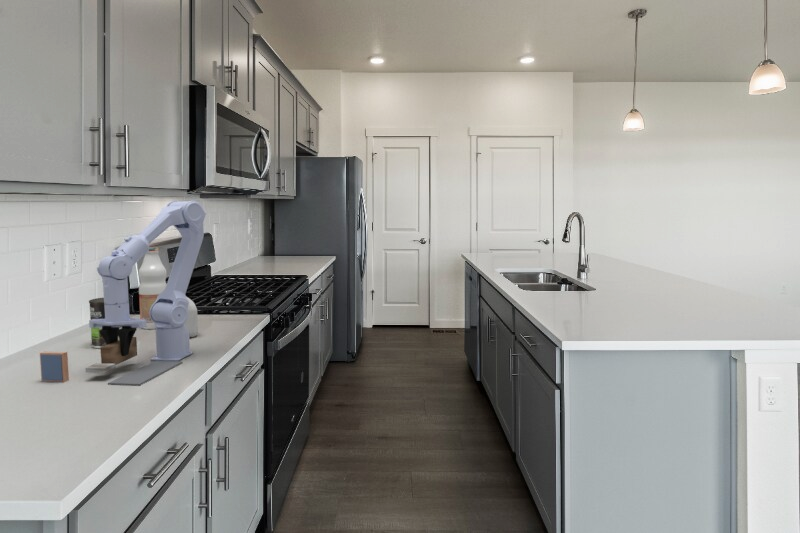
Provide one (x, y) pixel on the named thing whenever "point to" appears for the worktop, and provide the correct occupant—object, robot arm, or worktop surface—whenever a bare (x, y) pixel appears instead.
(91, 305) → the coffee can
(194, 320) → the soap bottle
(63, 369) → the tile
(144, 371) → the mat
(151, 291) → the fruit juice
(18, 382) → the worktop surface
